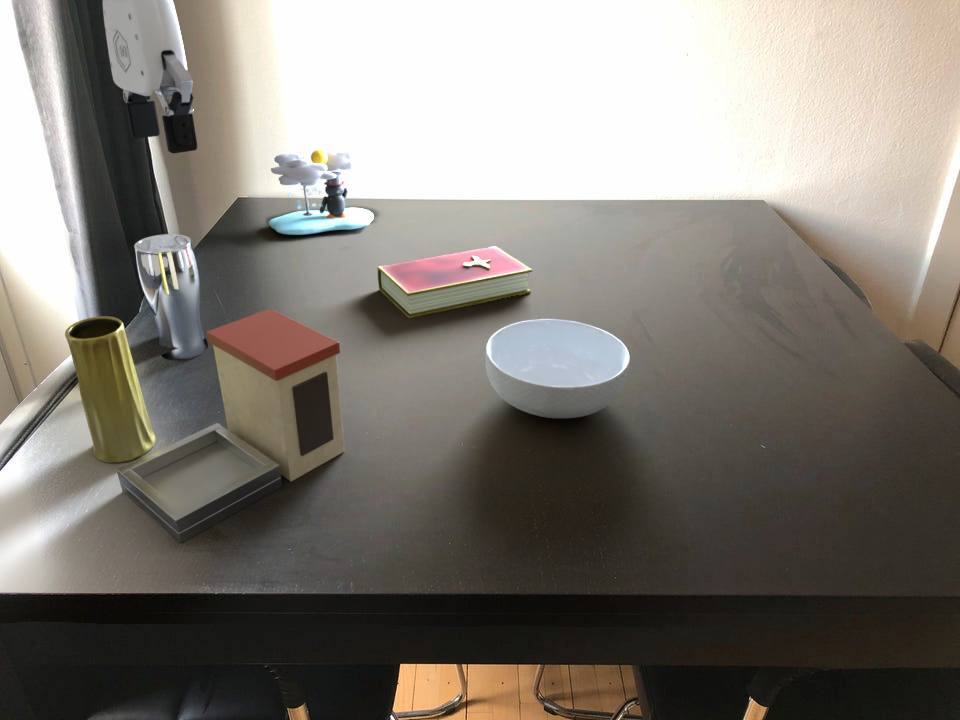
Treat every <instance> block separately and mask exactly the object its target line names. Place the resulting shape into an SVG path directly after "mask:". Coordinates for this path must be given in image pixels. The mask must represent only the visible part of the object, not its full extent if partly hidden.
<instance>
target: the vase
mask: <svg viewBox="0 0 960 720" xmlns="http://www.w3.org/2000/svg"><path fill="white" fill-rule="evenodd" d="M64 337H65V339H66V341H67V344H68V347H69V350H70V351H69V352H70V354H71V355H70V356H71V358H72V362H73V366H74V370H75V373H76V377H77V381H78V387H79V394H80V398H81V403H82V408H83V410H84V413H85V414H84V415H85V418H86V419H85V420H86V422H87V427H88V430H89V433H90V437H91V441H92V448H93V452H92V453H93V455H94V457H95V458H96V459H98V460H99V461H101V462H104V463H109V464H110V463H111V464H119V463H126V462H130V461H134V460H137V459H138V458H141V457H142V456H144V455H146V454H147V453H148V452H149V451H151V450H152V448H153V447H154V446H155V443H156V435H155V433H154V430H153V427H152V423H151V420H150V417H149V414H148V410H147V407H146V403H145V399H144V396H143V393H142V389H141V386H140V381H139V378H138V375H137V371H136V367H135V364H134V360H133V357H132V354H131V353H132V352H131V349H130V345H129V342H128V338H127V334H126V330H125V325H124V323H123V322H122V320H121V319H120V318H117V317H114V316H107V315H106V316H102V315H101V316H93V317H87V318H84V319H82V320H78V321H76V322H74V323H72V324H71V325H69V326H68V327H67V329H65V331H64Z"/></svg>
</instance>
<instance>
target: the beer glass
mask: <svg viewBox="0 0 960 720" xmlns="http://www.w3.org/2000/svg"><path fill="white" fill-rule="evenodd" d="M133 247H134V251H135V260H136V267H137V273H138V278H139V283H140V286H141V287H140V288H141V289H142V293H143V295H144V298H145V300H146V302H147V305H148V307H149V309H150V311H151V312H150V313H151V314H152V317H153V319H154V321H155V323H156V327H157V330H158V338H159V339H158V341H159V345H161V346H162V347H164V348H168V349H172V350H170V351H167V352H165V353H162V354H160V357H162V358H164V359H166V360H169V361H187V360H190V359H194V358H197V357H199V356H202V355H203V354H204V353H205V352H207V350H208V348H209V342H208V340H207V337H205V334H204V331H203V327H202V324H201V282H200V281H201V279H200V274H199V267H198V263H197V259H196V255H195V252H194V248H193V244H192V239H191V237H189V236H187V235H184V234H178V233H163V234H156V235H151V236H148V237H143V238H142V239H139V240H138V241H137V242H135V243H134V245H133ZM186 359H187V360H186Z"/></svg>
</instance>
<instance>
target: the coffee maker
mask: <svg viewBox="0 0 960 720" xmlns="http://www.w3.org/2000/svg"><path fill="white" fill-rule="evenodd" d="M206 339H207V343H208V344H211V345H212V348H213V354H214V359H215V364H216V370H217V376H218V381H219V387H220V392H221V393H220V394H221V397H222V403H223V409H224V415H225V420H226V425H227V428H226V427H224V426H223V425H221V424H220V423H218V422H217V423H214V424H212V425H210V426H207V427H206V428H203V429H202V430H199V431H197V432H195V433H193V434H191V435H188V436H186V437H184V438H182V439H180V440H178V441H175V442H173V443H172V444H169V445H167V446H164V447H161V449H158V450H156V451H154V452H152V453H150V454H147V455H145V456H143V457H140V458H139V459H135V460H133V461H132V462H129V463H128V464H126V465H123V466H122V467H119V468H117V469H116V473H117V476H118V481H119V484H120V488H121V491H122V493H124V494H125V495H126V496H127V497H128V498H129V499H130V500H132V502H134V504H136V505H137V506H138V507H139V508H140V509H142V510H143V511H144V512H145V513H146V514H147V515H148V516H149V517H150V518H152V519H153V520H154V521H155V522H156V523H157V524H158V525H159V526H161V528H163V529H164V530H165V531H166V532H167V533H169V534H170V535H171V536H172V537H173V538H174V539H175V540H176V541H177V542H179V544H182V543H184V542H186V541H188V540H190V539H191V538H192V539H193V537H195V536H197V535H199V534H200V533H202V532H205V530H208V529H210V528H211V527H213V526H215V525H217V524H218V523H220V522H222V521H224V520H225V519H227V518H229V517H231V516H232V515H234V514H236V513H238V512H239V511H241V510H243V509H245V508H247V507H248V506H250V505H252V504H254V503H255V502H258V501H259V500H261V499H262V498H264V497H266V496H268V495H270V494H271V493H273V492H276V491H277V490H278V489H281V488H282V487H283V481H282V477H284V478H285V479H286V480H288V481H289V482H293V481H294V480H296V479H298V478H300V477H302V476H304V475H306V474H308V472H311V471H312V470H314V469H316V468H318V467H320V466H322V465H323V464H326V463H327V462H329V461H330V460H332V459H333V458H336V457H338V456H339V455H341V454H342V453H344V452H345V451H346V450H345V439H344V429H343V417H342V416H343V415H342V405H341V395H340V394H341V393H340V384H339V382H340V381H339V374H338V373H339V372H338V360H337V355H338V354H341V345H340V341H337V340H335V339H334V338H331V337H329V336H327V335H325V334H323V333H321V332H319V331H317V330H315V329H312V328H311V327H309V326H307V325H304V324H302V323H300V322H299V321H297V320H294V319H293V318H291V317H288V316H286V315H284V314H282V313H280V312H278V311H276V310H273V309H272V308H268V309H265V310H262V311H259V312H257V313H254V314H251V315H248V316H245V317H243V318H240V319H237V320H235V321H232V322H230V323H227V324H223V325H220V326H218V327H215V328H213V329H210V330H207V331H206Z"/></svg>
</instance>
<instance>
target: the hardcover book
mask: <svg viewBox="0 0 960 720" xmlns="http://www.w3.org/2000/svg"><path fill="white" fill-rule="evenodd" d="M532 272H533V269H532V268H531V267H530V266H527V265H526V264H524V263H523V262H521V261H519V260H518V259H517V258H515V257H514V256H511V255H510V254H508V253H507V252H505V250H502V249H501V248H499V247H498V246H495V245H494V246H489V247H483V248H477V249H471V250H466V251H465V250H464V251H459V252H454V253H448V254H443V255H437V256H432V257H426V258H420V259H414V260H408V261H402V262H398V263H397V262H396V263H391V264H385V265H379V266H377V285H378V290H379V292H381V294H383V295H384V297H386V298H387V299H388V300H389V301H390V302H391V303H392V304H393V305H394V306H395V307H396V308H397V309H398V310H399V311H400V312H401V313H403V315H405V317H406V318H408V319H413V318H416V317H417V318H418V317H422V316H426V315H432V314H437V313H440V312H441V313H442V312H446V311H451V310H455V309H460V308H464V307H471V306H475V305H479V304H483V303H489V302H493V301H498V299H499V300H503V299H508V298H512V297H511V296H513V297H517V296H516V295H518V296H522V295H527V294H531V293H532V290H531V289H530V288H528V287H529V273H532ZM530 292H531V293H530ZM526 293H527V294H526ZM507 297H508V298H507ZM502 298H503V299H502ZM488 301H489V302H488Z"/></svg>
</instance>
